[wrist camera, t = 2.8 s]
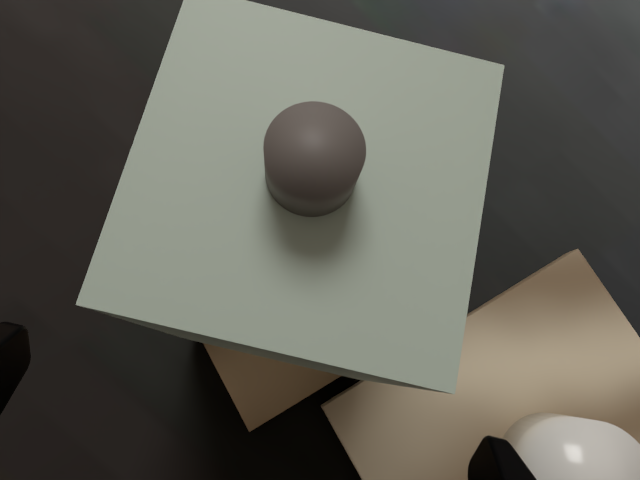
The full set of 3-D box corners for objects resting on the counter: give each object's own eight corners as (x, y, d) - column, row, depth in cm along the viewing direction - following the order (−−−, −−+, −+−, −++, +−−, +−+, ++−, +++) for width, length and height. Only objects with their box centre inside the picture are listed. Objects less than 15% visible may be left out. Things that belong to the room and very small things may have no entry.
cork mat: (434, 317, 22) (438, 316, 21) (250, 430, 20) (249, 432, 20) (329, 147, 23) (331, 142, 23) (150, 239, 22) (146, 235, 21)
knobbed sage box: (357, 379, 20) (480, 397, 8) (188, 339, 20) (46, 296, 8) (389, 218, 22) (531, 29, 10) (234, 180, 22) (178, -60, 10)
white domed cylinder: (621, 489, 20) (684, 512, 17) (537, 551, 19) (586, 586, 16) (559, 392, 20) (609, 396, 17) (476, 447, 20) (511, 462, 17)
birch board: (749, 522, 21) (772, 530, 20) (499, 728, 18) (511, 748, 17) (565, 253, 23) (578, 248, 22) (320, 405, 21) (322, 406, 20)
